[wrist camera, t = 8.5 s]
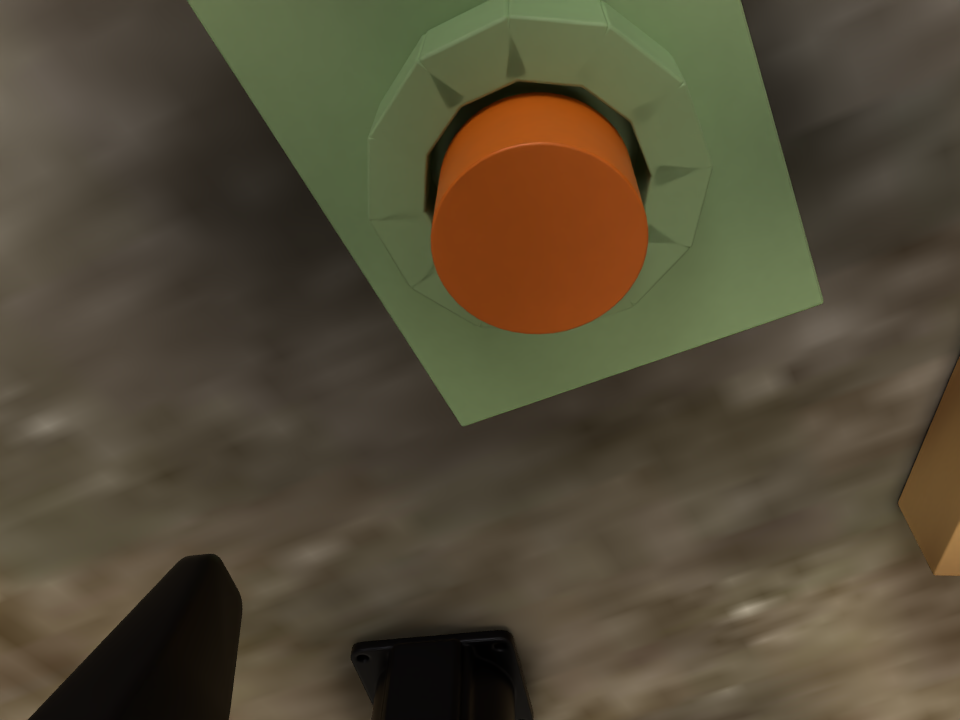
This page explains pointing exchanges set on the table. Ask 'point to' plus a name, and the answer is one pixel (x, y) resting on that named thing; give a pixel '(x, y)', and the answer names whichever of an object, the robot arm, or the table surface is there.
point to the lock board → (938, 486)
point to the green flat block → (515, 70)
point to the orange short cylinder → (538, 215)
